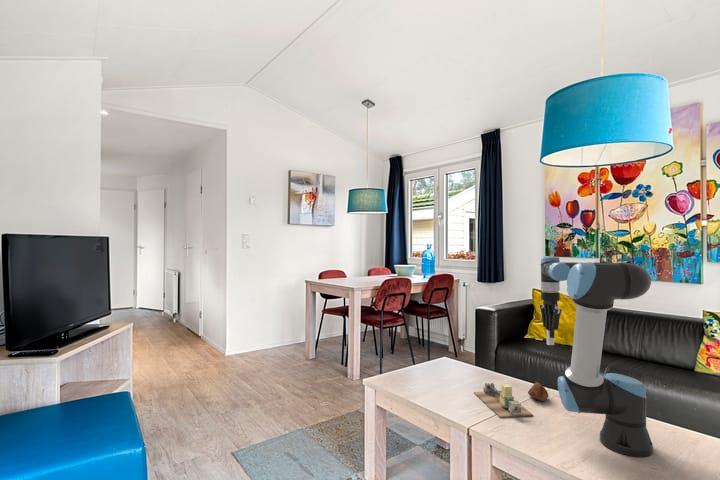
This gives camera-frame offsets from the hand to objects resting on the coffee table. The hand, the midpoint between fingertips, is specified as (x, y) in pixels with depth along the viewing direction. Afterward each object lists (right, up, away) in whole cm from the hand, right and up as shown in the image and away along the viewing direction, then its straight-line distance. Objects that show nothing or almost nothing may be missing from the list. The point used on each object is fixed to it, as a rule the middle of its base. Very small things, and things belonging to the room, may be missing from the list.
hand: (550, 344), depth 175 cm
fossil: (-5, -25, +1) cm, 25 cm away
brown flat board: (-24, -24, -5) cm, 34 cm away
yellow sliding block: (-23, -23, -10) cm, 34 cm away
